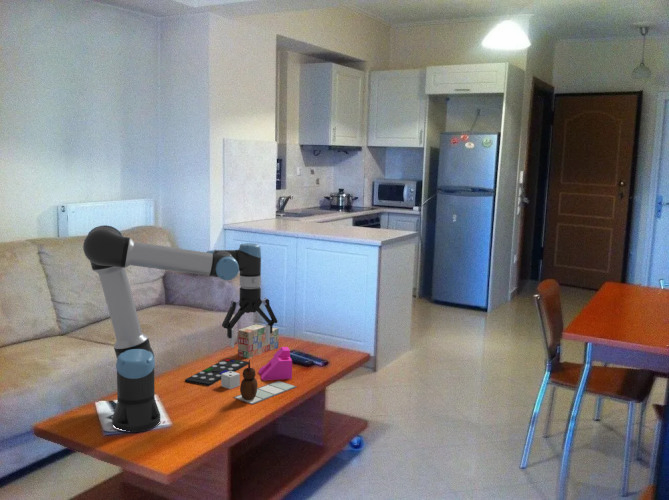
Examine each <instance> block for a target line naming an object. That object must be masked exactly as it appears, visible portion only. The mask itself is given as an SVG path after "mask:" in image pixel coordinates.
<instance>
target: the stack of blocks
mask: <svg viewBox="0 0 669 500" xmlns="http://www.w3.org/2000/svg"><path fill="white" fill-rule="evenodd" d="M265 327H266V325H262V324H252V325H249V326H247V327H243V328H240V329H238V330H237V332H238V333H237V335H238V336H237V356H238V357H240V358H246V359H251V358H254V357H256V356H260V355H263V354H264V353H267V352H270V351H272V350H275V349H278V348H279V328H277V327H273V326H272V333H271V334H270V343H267V342H266V341H265Z"/></svg>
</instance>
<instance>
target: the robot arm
mask: <svg viewBox="0 0 669 500" xmlns="http://www.w3.org/2000/svg"><path fill="white" fill-rule="evenodd" d="M82 246H83V247H82V248H83V249H82V250H83V253H84V255H85V258H87V260H88V261H89V262H90V266H91V270H92V271H93V272H95V273H96V274H98V277H99V281H100V283H101V287H102V288H101V289H102V292H103V295H104V298H105V302H106V305H107V309H108V310H107V311H108V313H109V317H110V320H111V325H112V327H113V328H112V329H113V332H114V335H115V339H116V341H115V343H114V345H113V350H114V354H115V356H116V357H115V358H116V362H115V369H116V391H117V393H116V395H117V399H116V406H115V409H114V411H113V414H112V419H111V421H112V422H111V425H112V424H113V425H114V426H115V427H116V428H119V429H122V430H126V431H130V432H129V433H140V432H144V431H145V432H146V431H149V430H152V429H154V428H155V427H154V426H156V425H157V424H158V423H159V422H161V412H160V410H159V407H158V404H157V402H156V398H155V392H156V391H155V390H156V389H155V388H156V387H155V367H156V365H155V364H156V362H155V353H154V351H153V349H152V347H151V344H150V339H149V336H148V335H147V334H145V333H143V331H142V327H141V324H140V319H139V316H138V312H137V309H136V305H135V300H134V296H133V293H132V289H131V287H130V286H131V285H130V283H129V278H128V275H127V271H126V268H128V267H129V266H134V267H140V268H142V267H143V268H149V269H157V270H162V271H163V270H164V271H173V272H179V273H186V274H192V275H193V274H194V275H201V276H209V277H213V278H219V279H221V280H223V281H230V280H233V279H235V278H236V277H237V276H238V275H239V286H240V288H239V300H238V301H234V300H231V301H230V307H229V309H228V311H227V313H226V316H225V318H224V319H223V322H222V324H221V326H222V328H224V329H226V337H227V338H228V339H229V346H230V348H234V347H235V329H234V327H235V325H236V324H237V323H238V321H239V320H240V319H241V318H242V316H243V315H244V314H245V313H246V314H250V313H252V314H253V313H256V312H257V313H258V314H259V315H260V316H261V317H262V318H263V320H264V321H265V322H266V324H265V326H266V327H265V341H266V342H267V343H270V334H271V333H272V327H273V326H274V324H277V323H278V319H277V317H276V315H275V313H274V311H273V309H272V307H271V305H270V304H271V303H270V300H269V299H268V298H266V297H264V298H263V299H262V296H261V293H262V291H261V290H262V287H261V285H262V281H261V279H262V276H261V275H262V274H261V273H262V266H261V265H262V253H261V251H262V250H261V245H259V244H258V243H252V242H251V243H250V242H249V243H240V245H239V248H238V249H228V250H227V249H226V250H225V249H224V250H223V249H214V250H213V249H212V250H207V251H206V252H205V251H199V250H191V249H183V248H179V247H173V246H172V247H171V246H164V245H157V244H151V243H146V242H140V241H139V242H137V241H134V240H133V239H132V238H131V237H126V236H123V234H122V233H121V232H120V231H119V229H118V228H116V227H114V226H111V225H98V226H96V227H94V228H92V229H90V230H89V232H88V234H87V235H86V237H85V239H84V240H83V245H82ZM261 305H264V307H265V309H266V311H267V313H268V315H269V317H270V318H269V317H268V316H267V314H266V313H265V312H264V311H263V309H261V308H260V306H261ZM238 306H239V309H237V312H236V314H235V311H236V308H238ZM234 314H235V315H234ZM233 315H234V316H233ZM159 424H160V423H159ZM159 424H158V425H159ZM158 425H157V426H158ZM157 426H156V427H157ZM153 427H154V428H153ZM151 428H152V429H151Z"/></svg>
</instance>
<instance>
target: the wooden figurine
mask: <svg viewBox="0 0 669 500" xmlns="http://www.w3.org/2000/svg"><path fill="white" fill-rule="evenodd" d="M248 362H249V363H248V365H247V366H248V367H245V368H244V369H243V370H242V377H243V379H242V380H241V381H240V386H239V390H240V394H241V395H242V398H244V399H246V400H251V399H253V398H255V396H256V393H257V388H258V381H257V379H256V378H255V377H256V370H255V368H254V367H251V362H250V360H248Z"/></svg>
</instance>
